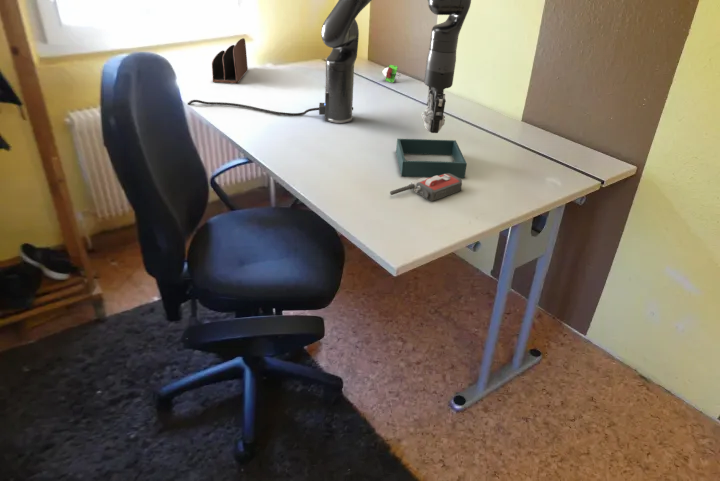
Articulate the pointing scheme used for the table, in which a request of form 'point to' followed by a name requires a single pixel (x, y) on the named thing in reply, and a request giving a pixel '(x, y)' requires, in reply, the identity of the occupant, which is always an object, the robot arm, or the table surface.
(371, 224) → the table surface
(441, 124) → the white rounded figurine
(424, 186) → the walkie-talkie
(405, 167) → the open box
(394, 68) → the geometric puzzle
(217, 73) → the letter holder
